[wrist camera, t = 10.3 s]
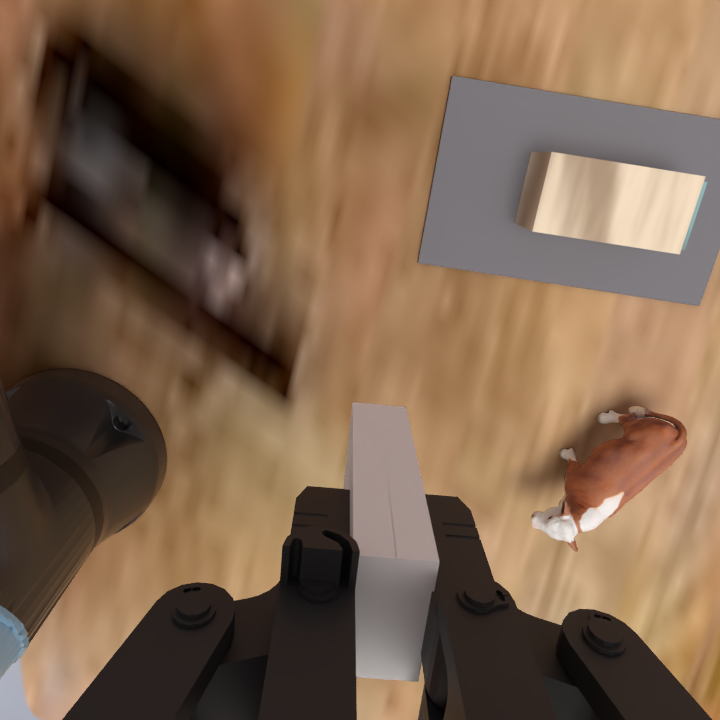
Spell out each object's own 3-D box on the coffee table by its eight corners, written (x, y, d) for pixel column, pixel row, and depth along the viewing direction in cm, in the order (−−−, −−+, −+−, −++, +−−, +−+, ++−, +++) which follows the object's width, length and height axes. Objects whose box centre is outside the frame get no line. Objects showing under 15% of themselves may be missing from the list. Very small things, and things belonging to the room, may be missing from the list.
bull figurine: (507, 477, 51) (530, 535, 43) (637, 381, 48) (688, 424, 40) (537, 509, 52) (566, 571, 44) (667, 416, 49) (722, 466, 41)
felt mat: (417, 261, 45) (418, 262, 44) (451, 76, 40) (452, 75, 40) (696, 304, 45) (699, 305, 45) (759, 126, 41) (763, 126, 41)
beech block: (532, 231, 38) (685, 255, 39) (551, 151, 37) (711, 177, 37) (514, 223, 43) (651, 244, 43) (531, 151, 41) (673, 174, 42)
